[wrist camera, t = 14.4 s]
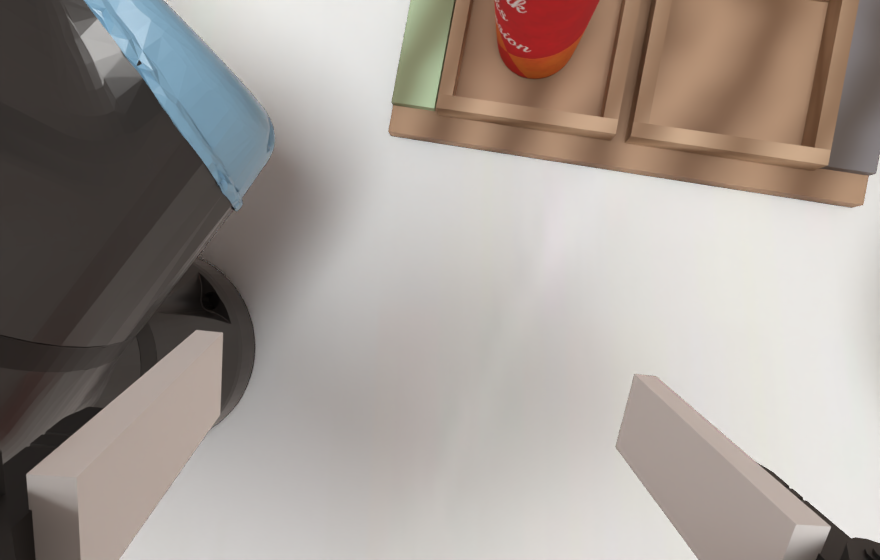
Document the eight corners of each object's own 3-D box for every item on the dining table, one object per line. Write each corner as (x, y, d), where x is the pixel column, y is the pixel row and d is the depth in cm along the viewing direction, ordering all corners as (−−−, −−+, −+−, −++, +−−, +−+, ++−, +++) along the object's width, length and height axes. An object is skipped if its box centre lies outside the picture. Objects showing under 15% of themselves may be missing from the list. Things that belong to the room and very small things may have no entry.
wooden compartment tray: (391, 135, 36) (383, 124, 34) (429, -69, 36) (425, -96, 34) (851, 207, 33) (881, 200, 30) (895, -21, 33) (928, -46, 30)
